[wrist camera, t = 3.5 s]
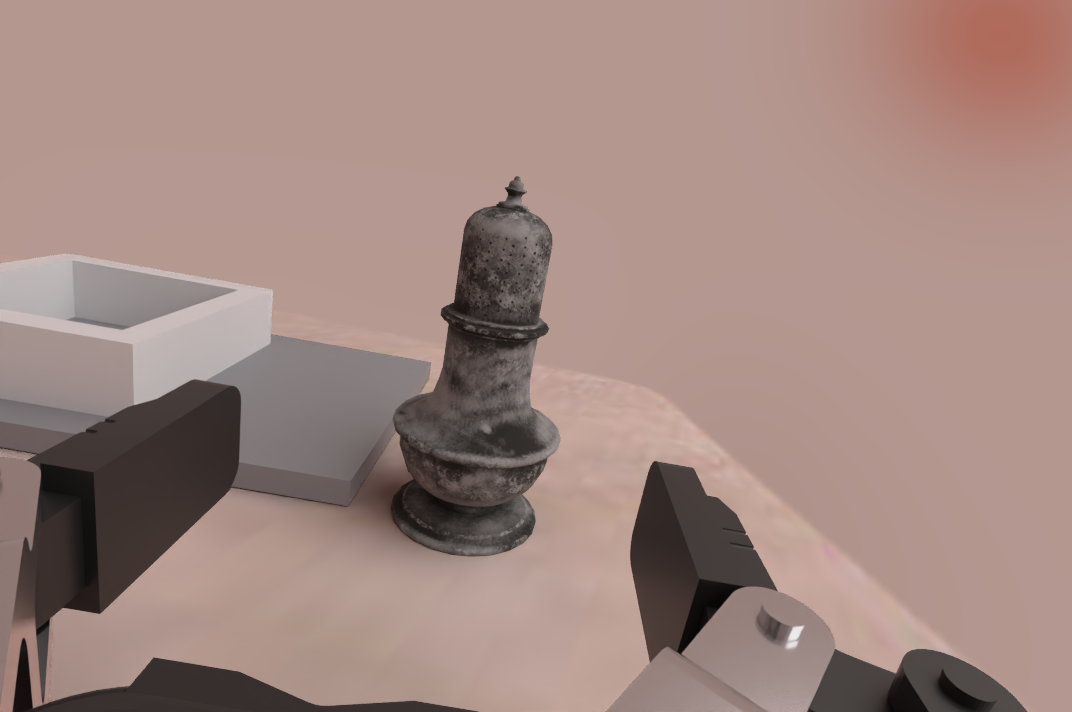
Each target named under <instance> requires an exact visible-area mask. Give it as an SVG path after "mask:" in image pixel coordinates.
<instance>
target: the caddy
mask: <svg viewBox="0 0 1072 712" xmlns="http://www.w3.org/2000/svg"><path fill="white" fill-rule="evenodd" d="M272 299H273V290H270V289H265V288H259V287H253V286H248V285H242V284H236V283H231V282H225V281H220V280H214V279H208V278H203V277H197V276H191V275H186V274H180V273H175V272H169V271H163V270H158V269H152V268H147V267H141V266H135V265H129V264H124V263H118V262H113V261H107V260H101V259H95V258H90V257H84V256H79V255H73V254H68V253H67V254H60V255H53V256H47V257H40V258H33V259H26V260H19V261H13V262H6V263H0V447H2V448H8V449H14V450H20V451H25V452H31V453H37V454H40V453H42V452H44V451H46V450H48V449H49V448H51V447H53V446H55V445H57V444H59V443H61V442H63V441H64V440H66V439H68V438H70V437H72V436H74V435H76V434H78V433H80V432H85V431H86V429H87V428H89V427H91V426H93V425H95V424H97V423H98V422H100V421H102V422H104V421H105V419H106V418H108V417H110V416H112V415H113V414H115V413H117V412H119V411H121V410H123V409H125V408H127V407H129V406H133V405H136V404H140V403H144V402H147V401H151V400H155V399H158V398H159V397H161V396H163V395H165V394H167V393H169V392H170V391H172V390H174V389H176V388H178V387H179V386H181V385H183V384H185V383H187V382H189V381H190V380H193V379H197V380H203V381H209V382H214V383H220V384H226V385H231V386H235V387H237V388H238V389H239V391H240V395H241V422H240V451H239V466H238V471H237V474H236V477H235V480H234V482H233V484H232V486H231V487H237V488H243V489H249V490H255V491H261V492H267V493H273V494H278V495H284V496H290V497H296V498H302V499H308V500H314V501H320V502H326V503H331V504H337V505H343V506H349V504H350V502H351V501H352V499H353V498H354V496H355V495H356V493H357V491H358V490H359V488H360V487H361V485H362V484H363V482H364V480H365V479H366V477H367V476H368V474H369V472H370V471H371V469H372V468H373V466H374V465H375V463H376V461H377V460H378V458H379V457H380V455H381V453H382V452H383V450H384V449H385V447H386V446H387V444H388V442H389V441H390V439H391V438H392V436H393V435H394V433H395V431H396V430H395V427H394V423H393V416H394V413H395V410H396V408H398V407H399V406H400V405H401V404H402V403H403V402H405V401H406V400H408V399H410V398H413V397H415V396H417V395H419V393H420V392H421V390H422V389H423V387H424V386H425V384H426V382H427V381H428V379H429V374H430V366H431V362H426V361H420V360H414V359H409V358H403V357H397V356H391V355H386V354H380V353H374V352H369V351H363V350H357V349H352V348H346V347H340V346H335V345H329V344H323V343H318V342H312V341H306V340H301V339H295V338H289V337H283V336H278V335H272V334H271V320H272Z"/></svg>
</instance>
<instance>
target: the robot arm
mask: <svg viewBox="0 0 1072 712" xmlns="http://www.w3.org/2000/svg"><path fill="white" fill-rule="evenodd" d="M240 422H241V395H240V391H239V389H238V388H237V387H235V386H231V385H226V384H220V383H214V382H209V381H203V380H197V379H193V380H190V381H189V382H187V383H185V384H183V385H181V386H179V387H178V388H176V389H174V390H172V391H170V392H169V393H167V394H165V395H163V396H161V397H159V398H158V399H155V400H151V401H147V402H144V403H140V404H136V405H133V406H129V407H127V408H125V409H123V410H121V411H119V412H117V413H115V414H113V415H112V416H110V417H108V418H106V419H105V421H104V422H102V421H100V422H98V423H97V424H95V425H93V426H91V427H89V428H87V429H86V431H85V432H80V433H78V434H76V435H74V436H72V437H70V438H68V439H66V440H64V441H63V442H61V443H59V444H57V445H55V446H53V447H51V448H49V449H48V450H46V451H44V452H42V453H40V454H38V455H36V456H34V457H32V458H31V459H29V460H27V461H26V460H22V459H16V458H5V457H0V712H477V711H471V710H465V709H459V708H453V707H447V706H441V705H435V704H429V703H423V702H417V701H405V702H388V703H371V704H354V705H337V706H319V705H314V704H311V703H308V702H306V701H304V700H302V699H299V698H297V697H295V696H293V695H290V694H288V693H286V692H284V691H281V690H279V689H277V688H275V687H272V686H270V685H268V684H266V683H263V682H261V681H259V680H257V679H254V678H252V677H250V676H247V675H245V674H243V673H241V672H237V671H231V670H225V669H219V668H213V667H207V666H201V665H195V664H189V663H183V662H177V661H171V660H165V659H159V658H153V659H152V660H151V662H150V663H149V664H148V665H147V666H146V668H145V669H144V670H143V671H142V672H141V673H140V675H139V676H138V677H137V678H136V679H135V681H134V682H133V683H132V684H131V685H130V686H128V687H116V688H110V689H103V690H96V691H91V692H87V693H82V694H78V695H73V696H69V697H66V698H62V699H59V700H56V701H53V702H49V690H50V675H51V659H52V643H53V629H52V616H53V615H55V614H56V613H57V612H58V611H59V610H60V609H62V608H68V609H74V610H80V611H86V612H92V613H98V614H100V613H101V612H103V611H104V610H105V609H106V608H107V607H108V606H109V605H110V604H111V603H112V602H113V601H114V600H115V599H116V598H117V597H118V596H119V595H120V594H121V593H122V592H124V591H125V590H126V589H127V588H128V587H129V586H130V585H131V584H132V583H133V582H134V581H135V580H136V579H137V578H138V577H139V576H140V575H141V574H142V573H143V572H145V571H146V570H147V569H148V568H149V567H150V566H151V565H152V564H153V563H154V562H155V561H156V560H157V559H158V558H159V557H160V556H161V555H162V554H163V553H164V552H166V551H167V550H168V549H169V548H170V547H171V546H172V545H173V544H174V543H175V542H176V541H177V540H178V539H179V538H180V537H181V536H182V535H183V534H184V533H185V532H186V531H188V530H189V529H190V528H191V527H192V526H193V525H194V524H195V523H196V522H197V521H198V520H199V519H200V518H201V517H202V516H203V515H204V514H205V513H206V512H207V511H209V510H210V509H211V508H212V507H213V506H214V505H215V504H216V503H217V502H218V501H219V500H220V499H221V498H222V497H223V496H224V495H225V494H226V493H227V492H228V491H229V489H230V488H231V486H232V484H233V482H234V480H235V477H236V474H237V471H238V466H239V451H240ZM745 533H746V531H745V530H744V528H743V526H742V524H741V522H740V520H739V518H738V517H737V515H736V514H735V513H734V512H733V511H732V510H731V509H730V508H729V507H727V506H726V505H725V504H724V503H723V502H722V501H721V500H720V499H718V498H717V497H711V496H707V495H706V493H705V491H704V489H703V487H702V485H701V483H700V480H699V478H698V476H697V474H696V472H695V470H694V469H693V468H691V467H685V466H679V465H674V464H668V463H662V462H657V461H654V462H653V463H652V465H651V467H650V469H649V472H648V476H647V480H646V483H645V487H644V491H643V495H642V499H641V503H640V507H639V510H638V514H637V518H636V522H635V526H634V530H633V534H632V540H631V551H630V560H631V568H632V573H633V578H634V583H635V588H636V593H637V599H638V604H639V609H640V614H641V619H642V624H643V629H644V634H645V639H646V644H647V649H648V655H649V660H650V663H649V665H648V666H647V667H646V668H645V669H644V670H643V671H642V672H641V674H640V675H639V676H638V677H637V678H636V679H635V680H634V681H633V682H632V684H631V685H630V686H629V687H628V688H627V689H626V690H625V691H624V692H623V694H622V695H621V696H620V697H619V698H618V699H617V700H616V701H615V702H614V704H613V705H612V706H611V707H610V708H609V709H608V710H607V711H606V712H1027V711H1026V710H1025V708H1024V707H1023V706H1022V705H1021V704H1020V702H1019V701H1018V700H1017V699H1016V698H1015V697H1014V696H1013V695H1012V694H1011V693H1010V692H1009V691H1008V690H1006V689H1005V688H1004V687H1003V686H1002V685H1000V684H999V683H998V682H997V681H995V680H994V679H993V678H991V677H990V676H988V675H987V674H985V673H984V672H982V671H981V670H979V669H977V668H976V667H974V666H972V665H970V664H968V663H966V662H964V661H962V660H960V659H958V658H955V657H953V656H950V655H947V654H945V653H941V652H938V651H933V650H927V649H916V650H912V651H909V652H907V653H906V654H905V656H904V657H903V659H902V662H901V664H900V666H899V668H898V671H897V673H896V674H895V673H893V672H890V671H887V670H885V669H882V668H880V667H877V666H875V665H872V664H870V663H867V662H864V661H862V660H859V659H857V658H854V657H852V656H849V655H847V654H845V653H842V652H840V651H838V650H836V649H835V640H834V637H833V634H832V632H831V631H830V629H829V627H828V626H827V625H826V623H825V622H824V621H823V620H822V619H821V618H820V617H819V616H818V615H817V614H816V613H815V612H814V611H812V610H811V609H810V608H808V607H807V606H806V605H804V604H803V603H801V602H799V601H798V600H796V599H794V598H792V597H790V596H788V595H786V594H783V593H781V592H778V591H777V589H776V587H775V585H774V583H773V581H772V579H771V578H770V576H769V574H768V572H767V570H766V568H765V567H764V565H763V563H762V561H761V559H760V557H759V555H758V554H757V552H756V550H753V547H754V546H753V544H752V543H751V541H750V539H749V537H748V535H745Z"/></svg>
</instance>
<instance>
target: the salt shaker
mask: <svg viewBox="0 0 1072 712" xmlns="http://www.w3.org/2000/svg"><path fill="white" fill-rule="evenodd" d="M520 181H521V178H520V177H518V176H516V177H515V178H514V180H513V181H511V182H510V184H509V187H505V189H506V190H507V192H508V197H507V199H506V201H505V202H499V204H497V205H496V206H492V207H485V208H483V209H481V210H479V211H477V212H475V213H474V214H473V215H472V216H471V217H470V218H469V219H468V220H467V223H466V226H465V228H464V234H463V242H462V249H461V257H460V264H459V271H458V278H457V285H456V293H455V300H454V303H452V304H450V305H447V306H445V307H444V308H442V310H441V316H442V317H443V319H444V320H446V321H447V322H448V324H449V327H448V334H447V341H446V348H445V355H444V363H443V368H442V371H441V374H440V377H439V380H438V382H437V384H436V387H435V389H434V391H433V392H431V393H426V394H421V395H417V396H415V397H413V398H410V399H408V400H406V401H405V402H403V403H402V404H401V405H400V406H399V407H398V408H396V410H395V413H394V416H393V423H394V427H395V430H396V431H397V433H398V434H399V435H400V446H401V450H402V453H403V456H404V460H405V463H406V466H407V469H408V472H409V473H410V474H411V475H412V476H413V478H414V479H413V480H411V481H410V482H408V483H407V484H405V485H403V486H402V487H401V488H400V489H399V490H398V491H397V493H396V494H395V495H394V498H393V502H392V505H391V510H392V515H393V520H394V521H395V523H396V524H397V525H398V527H399V528H400V530H401V531H402V532H404V533H405V534H406V535H407V536H409V537H410V538H411V539H413V540H414V541H416V542H418V543H420V544H422V545H424V546H426V547H429V548H431V549H434V550H438V551H441V552H445V553H449V554H455V555H465V556H482V555H494V554H497V553H501V552H505V551H508V550H511V549H513V548H515V547H517V546H518V545H520V544H522V543H524V541H525V540H526V539H527V538H528V537H529V536H530V535H531V534H532V531H533V528H534V525H535V514H534V510H533V508H532V506H531V505H530V503H529V501H528V500H527V499H526V498H525V497H524V496H523V495H522V494H523V493H524V492H526V491H527V490H528V489H529V488H530V487H531V486H532V485H533V484H534V482H535V481H536V480H537V478H538V477H539V475H540V474H541V472H542V471H543V470H544V467H545V464H546V462H547V458H548V457H549V456H551V455H552V454H553V453H554V452H555V451H556V450H557V449H558V446H559V443H560V439H561V438H560V435H559V431H558V429H557V427H556V426H555V425H554V424H553V422H552V421H551V420H550V419H549V418H548V417H546V416H545V415H543V414H542V413H541V412H539V411H538V410H536V409H534V408H531V405H530V377H531V371H532V366H533V360H534V355H535V349H536V344H537V339H538V338H539V337H541V336H543V335H545V334H546V333H547V332H548V330H549V328H548V326H547V324H546V323H545V322H544V321H542V319H541V318H539V315H540V309H541V304H542V298H543V293H544V287H545V282H546V276H547V271H548V265H549V260H550V254H551V249H552V234H551V232H550V230H549V228H548V226H547V225H546V224H545V223H544V222H543V221H542V219H541V218H539V217H538V216H536V215H534V214H532V213H530V212H529V210H528V207H527V206H524V205H522V199H521V197H522V195H523V194H525V193H526V192H527V191H525V190H524V189H523V188H524V186H523V185H524V184H523V183H522V182H520Z"/></svg>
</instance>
